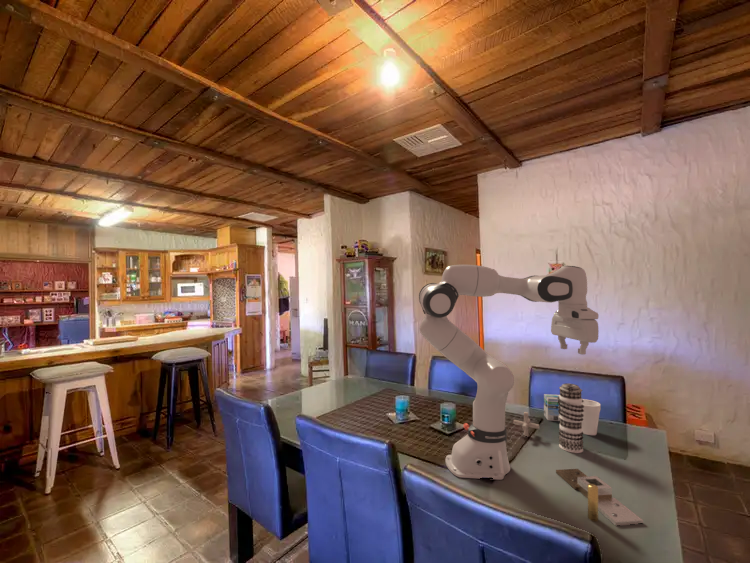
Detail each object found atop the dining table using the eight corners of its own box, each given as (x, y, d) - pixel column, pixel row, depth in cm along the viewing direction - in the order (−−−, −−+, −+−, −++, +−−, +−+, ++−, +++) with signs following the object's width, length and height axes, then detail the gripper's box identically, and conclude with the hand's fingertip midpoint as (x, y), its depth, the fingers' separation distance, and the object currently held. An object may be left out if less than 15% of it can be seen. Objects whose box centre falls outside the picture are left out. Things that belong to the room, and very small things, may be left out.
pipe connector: (540, 434, 150) (540, 411, 150) (537, 443, 142) (537, 418, 142) (516, 429, 155) (515, 406, 155) (511, 437, 147) (511, 413, 147)
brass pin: (592, 521, 95) (591, 489, 95) (586, 516, 97) (585, 483, 97) (600, 521, 95) (600, 488, 95) (594, 515, 97) (593, 483, 97)
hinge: (643, 523, 94) (642, 509, 94) (615, 525, 93) (615, 510, 93) (577, 471, 120) (577, 460, 120) (555, 472, 119) (555, 461, 119)
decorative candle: (558, 440, 144) (557, 380, 144) (584, 445, 139) (583, 383, 139) (557, 449, 136) (556, 386, 136) (584, 455, 131) (584, 389, 132)
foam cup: (577, 434, 150) (577, 404, 150) (574, 426, 158) (574, 398, 158) (603, 438, 146) (602, 407, 146) (598, 429, 154) (598, 400, 155)
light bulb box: (547, 420, 165) (547, 398, 165) (543, 415, 172) (543, 393, 172) (571, 422, 163) (571, 399, 163) (566, 416, 170) (566, 394, 170)
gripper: (546, 309, 131) (546, 346, 131) (584, 314, 111) (584, 357, 111) (562, 309, 132) (562, 346, 132) (602, 314, 112) (602, 357, 111)
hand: (572, 351), depth 121 cm, fingers open, 8 cm apart
